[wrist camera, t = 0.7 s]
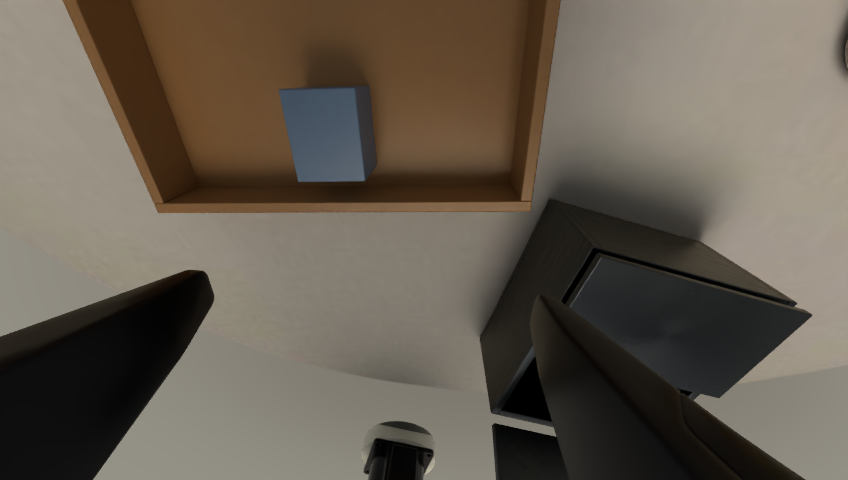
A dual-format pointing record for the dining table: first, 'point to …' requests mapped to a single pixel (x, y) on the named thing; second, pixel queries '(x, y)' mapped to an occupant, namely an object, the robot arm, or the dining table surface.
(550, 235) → the black cupboard
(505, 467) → the hatch
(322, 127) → the blue-grey block
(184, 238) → the dining table surface
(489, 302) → the dining table surface
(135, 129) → the laundry tray
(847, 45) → the yellow labelled cylinder
